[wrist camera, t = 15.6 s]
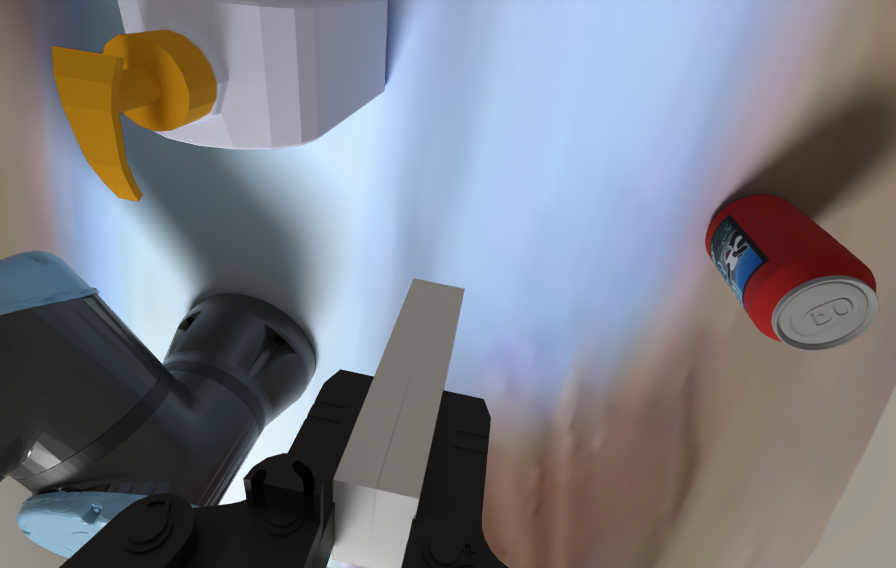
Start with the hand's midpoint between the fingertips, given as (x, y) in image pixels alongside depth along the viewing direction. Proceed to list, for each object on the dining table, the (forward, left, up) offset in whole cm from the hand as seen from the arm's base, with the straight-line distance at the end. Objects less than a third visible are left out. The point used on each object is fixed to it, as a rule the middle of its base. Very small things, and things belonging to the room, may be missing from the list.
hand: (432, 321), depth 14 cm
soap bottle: (-13, +3, -27) cm, 30 cm away
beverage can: (+22, -5, -27) cm, 35 cm away
